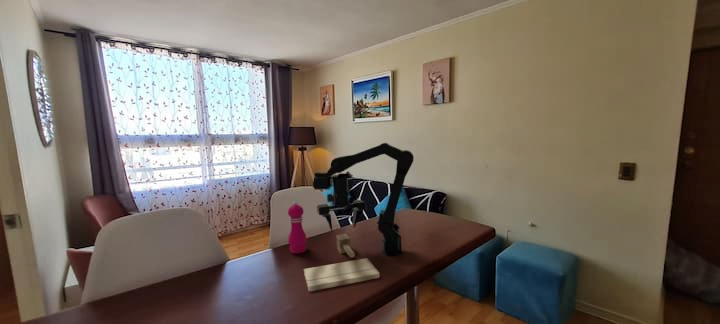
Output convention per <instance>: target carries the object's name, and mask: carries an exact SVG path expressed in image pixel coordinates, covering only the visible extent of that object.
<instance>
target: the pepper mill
mask: <svg viewBox="0 0 720 324" xmlns="http://www.w3.org/2000/svg"><path fill="white" fill-rule="evenodd" d="M303 214H304V208H303V206H301V205H299V204H298V201H297V200H296V201H293V202H292V205H291V206H289V208H288V210H287V215H288V216H289V222H290V223H291V225H290V227H291V228H290V232H289V235H288V238H287V243H288V245H290V247H289V253H291V254H301V253H304V252H306V250H307V246H306V243H307V239H308V238H307V235H306V232H305V230H304V228H303V223H302V222H303V218H304V217H303Z"/></svg>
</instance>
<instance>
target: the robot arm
mask: <svg viewBox="0 0 720 324" xmlns="http://www.w3.org/2000/svg"><path fill="white" fill-rule="evenodd" d="M382 155H385V156H388V157H389V158H391V159H393V160H395V161H396V168H395V169H396V172H395V177H394V180H393V184H392V187H391V190H390V194H389V198H388V201H387V204H386V208H385V210H384V209H380V212H379V216H378V219H377V222H376V224H377V229H378V231H379V233H380V234H382V240H381V251H382V252H383V253H384V254H386V256H395V255H400V254H404V253H405V252H404V250H402V235H401V234H400V230H401V227H400V226H399V225H398V224H397V223H396V222H395V221H396V209H397V207H398V202H399V200H400V197H401V193H402V189H403V186H404V182H405V179H406V176H407V175H408V172H409V171H410V168H411V167H412V165H413V163H414V153H413V152H411V150H407V149H405V150H402V149H400V148H398V147H395V146H392V145H391V144H389V143H388V142H383V143H381V144H379V145H377V146H374V147H371V148H369V149H365V150H363V151H360V152H357V153H354V154H350V155H343V156H338V157H335V158H333V159H332V160H331V162H330V167H329V168H328V170H327V172H318V171H317V172H314V177H313V181H312V187H313V189H314V190H315V191H319V190H320V191H321V190H323V191H327V190H328V191H329V190H331V188H333V194H332V193H328V194H326V202H327V203H324V204H317V205H316V212H317V214H318V215H319V216H321V217H323V218H325V219H326V222H327V225H328V227H329V230H330V231H331V232H332V231H333V223H332V222H333V221H332V216H331V214H330V212H332V211H333V212H335V211H341V210H350V209H352V226H353V228H356V226H357V223H358V221H359V218H360V215H362V213H364V211H365V210H367V208H368V207H367V203H366V201H364V200H362V199H360V200H359V199H358V200H353V201H352V203H350V198H349V197H350V192H349V179H352V178H353V177H354V176H353V174H352V173H351V172H350V171H349V170H348V169H349V168H351V167H353V166H355V165H357V164H359V163H362V162H365V161H367V160H370V159H373V158H376V157H378V156H382ZM346 170H348V171H346ZM344 171H346V172H345V173H343V172H344ZM336 174H337V175H336ZM328 203H331V204H332V205H328Z"/></svg>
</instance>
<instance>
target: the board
mask: <svg viewBox="0 0 720 324" xmlns="http://www.w3.org/2000/svg"><path fill="white" fill-rule="evenodd" d="M303 275H304V278H305V281H306V286H307V289H308V290H307V291H308V292H309V293H310V292H314V291H320V290H325V289H329V288H334V287H339V286H345V285H349V284H354V283H360V282H365V281H369V280H374V279H375V280H376V279H379V278H380V276H381V275H380V272H379V271H378V269H377V268H376V267H375V265H373V263H372V262H371V261H370V259H368V258H367V257H365V258H360V259H354V260H349V261H343V262H337V263H332V264H326V265H320V266H315V267H309V268H303Z"/></svg>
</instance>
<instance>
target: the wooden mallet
mask: <svg viewBox="0 0 720 324" xmlns="http://www.w3.org/2000/svg"><path fill="white" fill-rule="evenodd" d="M335 237H336V249H337V250H338V253H339V254H340V255H342V254H347V255H348V256H349V258H351V259H353V258H354V257H356V256H355V252H354V251H353V249H352V248H351V238H350V236H348V234H347V233H341V234H337V235H336V236H335Z"/></svg>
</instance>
